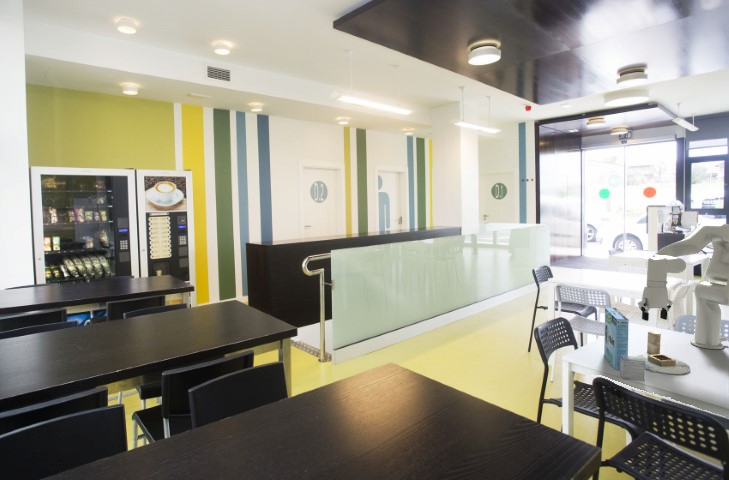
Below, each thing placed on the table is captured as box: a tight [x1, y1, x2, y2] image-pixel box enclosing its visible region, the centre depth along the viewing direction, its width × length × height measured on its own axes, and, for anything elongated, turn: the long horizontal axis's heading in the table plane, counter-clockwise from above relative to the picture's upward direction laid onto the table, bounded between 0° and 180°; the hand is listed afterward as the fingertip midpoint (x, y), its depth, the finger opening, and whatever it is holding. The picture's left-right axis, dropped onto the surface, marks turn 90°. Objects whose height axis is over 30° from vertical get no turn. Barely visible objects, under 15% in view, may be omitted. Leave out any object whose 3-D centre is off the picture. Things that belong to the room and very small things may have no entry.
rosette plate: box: [635, 353, 691, 376], centre depth 183 cm, size 20×20×4 cm
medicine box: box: [619, 355, 646, 382], centre depth 171 cm, size 8×4×9 cm, turn 71°
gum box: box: [603, 307, 630, 371], centre depth 186 cm, size 20×5×23 cm, turn 162°
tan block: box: [646, 331, 662, 355], centre depth 196 cm, size 4×4×10 cm
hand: (654, 319), depth 195 cm, fingers open, 9 cm apart
